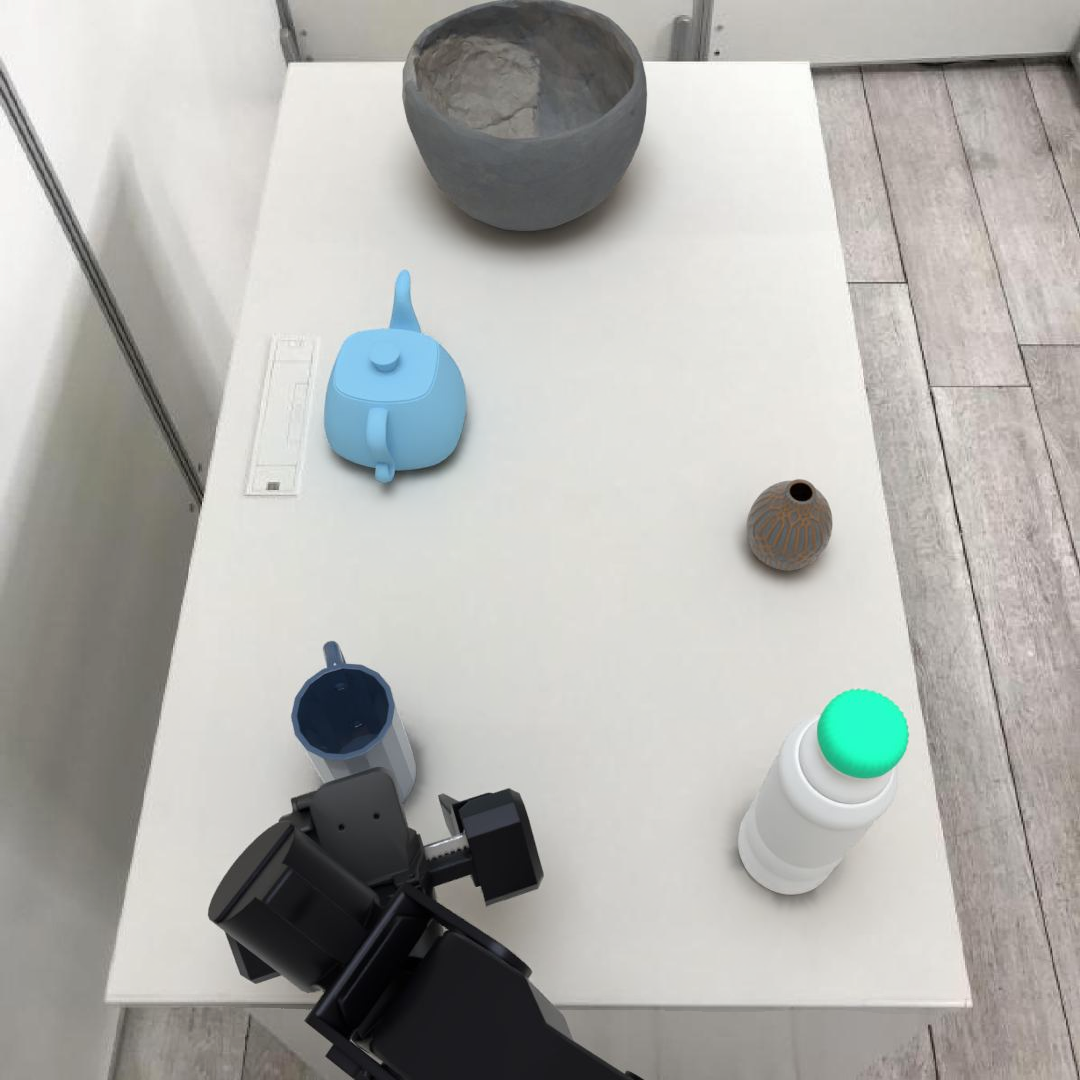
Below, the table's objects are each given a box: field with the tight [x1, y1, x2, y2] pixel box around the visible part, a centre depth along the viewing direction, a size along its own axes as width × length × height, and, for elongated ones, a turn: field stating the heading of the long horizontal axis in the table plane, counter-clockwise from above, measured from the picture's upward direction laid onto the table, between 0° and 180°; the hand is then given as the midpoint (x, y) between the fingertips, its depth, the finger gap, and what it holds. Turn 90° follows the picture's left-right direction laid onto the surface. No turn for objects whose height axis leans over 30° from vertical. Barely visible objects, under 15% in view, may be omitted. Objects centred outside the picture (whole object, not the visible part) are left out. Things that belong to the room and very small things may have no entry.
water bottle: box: [737, 688, 910, 896], centre depth 68 cm, size 7×7×25 cm
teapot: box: [323, 269, 467, 484], centre depth 95 cm, size 13×11×18 cm
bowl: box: [401, 0, 648, 232], centre depth 109 cm, size 24×24×15 cm
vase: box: [746, 478, 834, 571], centre depth 88 cm, size 7×7×9 cm
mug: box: [290, 640, 417, 804], centre depth 77 cm, size 10×7×13 cm
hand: (376, 821), depth 72 cm, fingers open, 9 cm apart
